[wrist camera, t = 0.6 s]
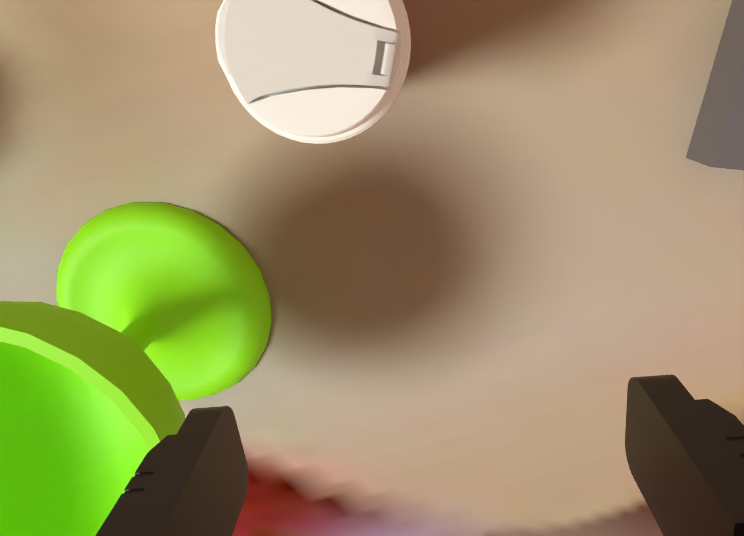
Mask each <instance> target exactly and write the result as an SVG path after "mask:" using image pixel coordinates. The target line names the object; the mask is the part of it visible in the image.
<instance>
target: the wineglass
mask: <svg viewBox="0 0 744 536" xmlns="http://www.w3.org/2000/svg"><path fill="white" fill-rule="evenodd" d="M56 297H57V302H58V306H59V307H58V306H54V305H50V304H46V303H42V302H9V301H0V536H95V535H96V534H97V532H98V531H99V529H100V527H101V526H102V524H103V523H104V521H105V519H106V518H107V516H108V515H109V513H110V511H111V510H112V508H113V507H114V505H115V504H116V502H117V500H118V499H119V497H120V496H121V494H124V492H125V490H124V489H125V488H126V486H127V484H128V483H129V481H130V480H131V478H132V477H135V472H136V470H137V468H138V467H139V465H140V464H141V462H142V460H143V459H144V457H145V456H146V454H147V453H148V452H149V451H150V450H151V449H152V448H153V447H155V446H156V445H157V444H158V443H159V442H160V441H161V440H163V439H164V438H165V437H166V436H167V435H175V434H177V433H178V431H179V429H180V427H181V426H182V424H183V422H184V421H185V415H184V412H183V410H182V408H181V406H180V404H179V401H178V400H193V399H198V398H202V397H207V396H212V395H215V394H217V393H219V392H221V391H223V390H225V389H227V388H229V387H231V386H233V385H235V384H237V383H238V382H239V381H240V380H241V379H242V378H243V377H244V376H245V375H246V374H248V373H249V372H250V371H251V370H252V369H253V368H254V367H255V366H256V364H257V362H258V360H259V359H260V357H261V355H262V353H263V352H264V350H265V348H266V346H267V342H268V338H269V333H270V328H271V324H272V316H271V304H270V295H269V292H268V290H267V287H266V284H265V282H264V279H263V276H262V273H261V271H260V269H259V267H258V266H257V265H256V263H255V262H254V260H253V259H252V257H251V256H250V254H249V253H248V252H247V250H246V249H245V247H244V246H243V245H242V244H241V243H240V242H239V241H238V240H237V239H235V238H234V237H233V236H232V235H231V234H230V233H229V232H227V231H226V230H225V229H224V228H223V227H222V226H221V225H219V224H217V223H215V222H214V221H212V220H210V219H208V218H206V217H204V216H202V215H201V214H199V213H197V212H195V211H193V210H190V209H186V208H182V207H178V206H174V205H171V204H167V203H160V202H133V203H129V204H125V205H122V206H118V207H115V208H111V209H107V210H105V211H104V212H102V213H100V214H99V215H97V216H96V217H94V218H93V219H91V220H89V221H88V222H86V223H85V224H83V226H82V227H81V228H80V229H79V231H78V232H77V233H76V234H75V236H74V237H73V238H72V239H71V240H70V242H69V243H68V244H67V246H66V249H65V251H64V254H63V257H62V259H61V262H60V265H59V267H58V271H57V291H56Z"/></svg>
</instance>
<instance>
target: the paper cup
mask: <svg viewBox="0 0 744 536" xmlns="http://www.w3.org/2000/svg"><path fill="white" fill-rule="evenodd" d="M215 31H216V50H217V56H218V61H219V63H220V65H221V67H222V69H223V71H224V73H225V75H226V77H227V79H228V81H229V83H230V85H231V88H232V90H233V92H234V93H235V95H236V96H237V98H238V99H239V101H240V102H241V104H242V105H243V106H244V107H245V108H246V110H247V111H248V112H249V113H250V114H251V115H252V116H253V117H254V118H255V119H256V120H258V121H259V122H260V123H261V124H262V125H264V126H265V127H267V128H268V129H270V130H272V131H273V132H275V133H277V134H279V135H281V136H284V137H286V138H288V139H292V140H296V141H300V142H304V143H315V144H320V143H332V142H337V141H341V140H345V139H348V138H350V137H353V136H355V135H358V134H359V133H361V132H363V131H364V130H366V129H368V128H369V127H371V126H372V125H373V124H374V123H375V122H377V121H378V120H379V119H380V118H381V117H382V116H383V115H384V114H385V113H386V111H387V110H388V109H389V108H390V107H391V105H392V104H393V102H394V101H395V99H396V97H397V96H398V94H399V92H400V90H401V88H402V85H403V83H404V80H405V78H406V74H407V70H408V66H409V62H410V52H411V34H410V26H409V20H408V15H407V12H406V9H405V6H404V3H403V0H224V1H223V3H222V5H221V7H220V9H219V10H218V13H217V20H216V28H215Z"/></svg>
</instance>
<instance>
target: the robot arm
mask: <svg viewBox="0 0 744 536" xmlns="http://www.w3.org/2000/svg"><path fill="white" fill-rule="evenodd" d="M625 449H626V456H627V461H628V464H629V468H630V471H631V473H632V475H633V477H634V479H635V481H636V483H637V485H638V487H639V489H640V491H641V493H642V495H643V497H644V499H645V501H646V503H647V504H648V506H649V508H650V510H651V512H652V514H653V516H654V518H655V520H656V522H657V524H658V526H659V528H660V530H661V531H662V533H663V535H664V536H744V425H743V424H742V423H741V422H740V421H739V420H738V419H737V417H736V416H735V415H733V414H732V413H730V412H728V411H727V410H725V409H723V408H722V407H720V406H719V405H717V404H715V403H714V402H712V401H710V400H709V399H701V400H694V398H693V397H692V396H691V395H690V393H689V392H688V391H687V390H686V388H685V387H684V386H683V385H682V383H681V382H680V381H679V380H678V378H677V377H676V376H674V375H660V376H646V377H633V378H631V379H630V380H629V383H628V392H627V412H626V432H625ZM247 489H248V466H247V461H246V458H245V454H244V450H243V446H242V442H241V439H240V435H239V431H238V427H237V423H236V420H235V416H234V413H233V411H232V409H231V408H230V407H229V406H223V407H209V408H196V409H192V410H191V411H190V412H189V414H188V415H187V417H186V419H185V421H184V422H183V424H182V426H181V427H180V429H179V431H178V433H177V434H175V435H167V436H166V437H165V438H164V439H163V440H161V441H160V442H159V443H158V444H157V445H156V446H155V447H153V448H152V449H151V450H150V451H149V452H148V453H147V454H146V456H145V457H144V459H143V460H142V462H141V464H140V465H139V467H138V468H137V470H136V472H135V477H132V478H131V480H130V481H129V483H128V484H127V486H126V488H125V489H124V490H125V492H124V494H121V496H120V497H119V499H118V500H117V502H116V504H115V505H114V507H113V508H112V510H111V511H110V513H109V515H108V516H107V518H106V519H105V521H104V523H103V524H102V526H101V527H100V529H99V531H98V532H97V534H96V535H95V536H232V534H233V531H234V529H235V526H236V523H237V520H238V517H239V514H240V512H241V509H242V506H243V503H244V500H245V497H246V494H247Z"/></svg>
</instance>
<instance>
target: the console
mask: <svg viewBox="0 0 744 536" xmlns="http://www.w3.org/2000/svg"><path fill="white" fill-rule="evenodd" d="M686 158H688V159H691V160H694V161H696V162H699V163H702V164H704V165H707V166H709V167H717V168H727V169H737V170H744V0H733V1H732V4H731V8H730V11H729V14H728V18H727V21H726V24H725V28H724V31H723V35H722V38H721V41H720V45H719V48H718V51H717V55H716V58H715V62H714V65H713V68H712V72H711V75H710V79H709V82H708V85H707V89H706V92H705V95H704V99H703V102H702V106H701V109H700V112H699V116H698V119H697V122H696V126H695V129H694V133H693V136H692V139H691V143H690V146H689V149H688V153H687V156H686Z"/></svg>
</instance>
